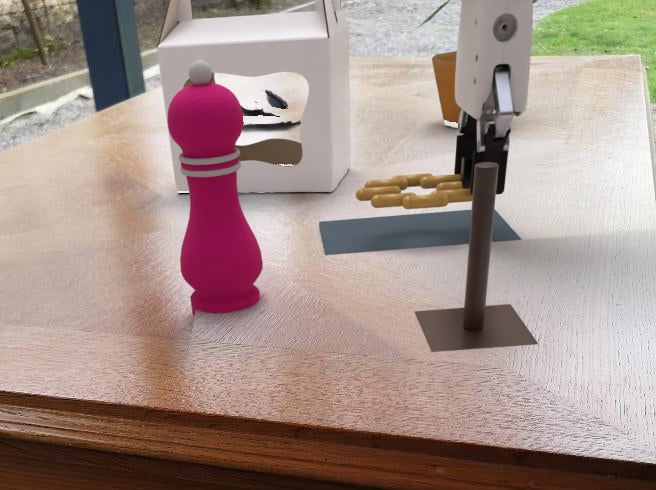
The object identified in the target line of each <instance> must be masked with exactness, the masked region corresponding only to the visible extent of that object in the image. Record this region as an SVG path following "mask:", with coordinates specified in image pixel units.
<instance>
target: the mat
mask: <svg viewBox="0 0 656 490" xmlns="http://www.w3.org/2000/svg"><path fill="white" fill-rule="evenodd" d="M471 211H472V208H471V209H460V210H447V211H446V210H445V211H435V212H421V213H411V214H410V213H409V214H398V215H386V216H385V215H384V216H374V217H373V216H372V217H361V218H360V217H359V218H346V219H337V220H335V219H334V220H323V221H319V222H318V225H319V226H318V227H319V231H320V236H321V239H322V245H323V249H324V253H325V256H333V255H334V256H336V255H349V254H360V253H361V254H362V253H372V252H384V251H386V252H387V251H398V250H399V251H400V250H411V249H424V248H437V247H449V246H461V245H469V237H470V224H471ZM522 240H523V239H522V238H521V237H520V235H519V234H518V233H517V232H516V231H515V230H514V229H513V227H511V226H510V224H509V223H508V222H507V221H506V220H505V219H504V218H503V216H502V215H501V214H500V213H499V212H498V211H497V210H496V209H495V208H494V219H493V230H492V241H491V243H501V242H513V241H522Z"/></svg>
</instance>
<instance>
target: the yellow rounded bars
mask: <svg viewBox="0 0 656 490" xmlns="http://www.w3.org/2000/svg"><path fill="white" fill-rule="evenodd" d="M472 161H473V156H470V157H462V164H461V175H460V174H444V175H443V174H441V175H433V174H431V173H419V174H418V173H417V174H401V175H393V176H392V177H391V178H386V179H372V180H371V179H370V180H367V181H366V182H365V183H364V186H363V187H361V188H358V189H357V190H356V192H355V198H356V199H357V200H358V201H359V202H368V201H370V205H371V206H372V207H373V208H375V209H382V208H396V207H403V209H405V210H418V209H433V208H444V207H447V206H448V204H454V203H455V204H456V203H469V202H472V197H473V195H472V194H471V193H470V185H471V173H472ZM415 187H420V188H421V189H424V190H431V189H435V190H433V191H432V192H431V193H430V194H420V195H419V194H418V195H417V194H416V193H415V192H402V191H406V190H407V189H408V188H415Z"/></svg>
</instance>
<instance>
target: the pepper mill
mask: <svg viewBox="0 0 656 490" xmlns="http://www.w3.org/2000/svg"><path fill="white" fill-rule="evenodd" d="M189 77H190V80H191V81H192V83H193V84H192V85H189V86H187V87H185V88H183V89H182V90H180V91H179V92H178V93H177V94H176V95H175V96H174V97H173V99H172V101H171V103H170V105H169V109H168V118H166V121H167V120H168V125H167V129H168V128H169V132H170V135H171V137H172V139H173V140H174V141H175V142H176V143H177V144H178V145H179V146H180V148H181V149H182V152H183V153H181V154H180V155H179V161H180V162H181V168H180V171H181V173H182V174H183V175H186V178H187V182H188V187H189V194H188V195H189V215H188V216H189V217H188V222H187V225H186V229H185V233H184V237H183V240H182V243H181V250H180V258H179V261H180V262H179V263H180V265H179V266H180V273H181V276H182V278H183V280H184V281H185V282H186V283H187V285H189V286H190V287H191V288H192V289H193V290H194V291H193V292H192V293H191V294H190V297H189V298H190V299H189V300H190V306H191V312H192V313H191V314H192V316H193V317H195V315H196V310H197V311H198V312H202V313H208V314H227V313H228V314H229V313H236V312H240V311H242V310H246V309H249V308H251V307H252V306H254V305H256V304H257V303H258V302H259V301H260V299H261V292H260V289H259V287H257V286H256V285H255V283H256V281H257V280H258V279H259V277H260V275H261V273H262V271H263V268H264V263H263V261H264V260H263V256H262V250H261V247H260V244H259V242H258V238H257V236H256V235H255V233H254V232H253V230H252V228H251V226H250V224H249V223H248V220H247V218H246V216H245V214H244V213H243V208H242V204H241V203H240V196H239V193H238V190H237V170H238V169H240V167H241V162H240V161H239V155H240V150H239V149H238V148H235V145H237V144H236V143H237V141H238V140H239V139H240V136H241V135H242V132H243V129H244V125H245V124H244V122H243V113H242V109H241V106H242V105H241V103H240V101H239V99H238V98H237V96H236V95H235V94H234V92H233V91H232V90H230V89H229V88H228V87H226V86H225V85H222V84H219V83H216V82H215V83H216V84H215V83H209V82H210V80H211V77H212V71H211V68H210V66H209V65H208V63H207V62H205V61H203V60H196V61H194V62H193V63H192V64H191V66H190V68H189ZM169 132H168V133H169Z"/></svg>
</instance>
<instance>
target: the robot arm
mask: <svg viewBox="0 0 656 490" xmlns="http://www.w3.org/2000/svg"><path fill="white" fill-rule="evenodd" d="M460 5H461V6H460V14H459V23H458V24H459V25H458V34H457V45H456V51H457V57H456V71H455V100H456V103H457V105H458V106H459V107H460V116H459V122H458V128H457V133H458V134H457V135H456V142H455V157H454V171H453V173H454V174H453V175H455V174H460V175H461V164H462V157H470V156H473V161H472V173H471V185H470V193H471V194H472V195H473V184H474V171H475V165H476V164H478V163H481V162H494V163H497V164H498V176H497V187H496V196H497V195H502V194H503V193H504V192H505V187H506V176H507V169H508V160H509V159H508V158H509V150H510V137H511V136H510V134H512V133H511V132H512V128H511V127H512V126H511V125H512V122H513V119H514V117H517V118H519V117H522V116H523V115H524V114H525V112H526V111H527V105H528V97H529V85H530V84H529V83H530V71H531V59H532V58H531V56H532V44H533V43H532V41H533V20H534V19H533V18H534V3H533V0H462V1H461V4H460ZM491 110H494V112H493V113H492V114H490V111H491ZM488 125H489V126H488Z"/></svg>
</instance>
